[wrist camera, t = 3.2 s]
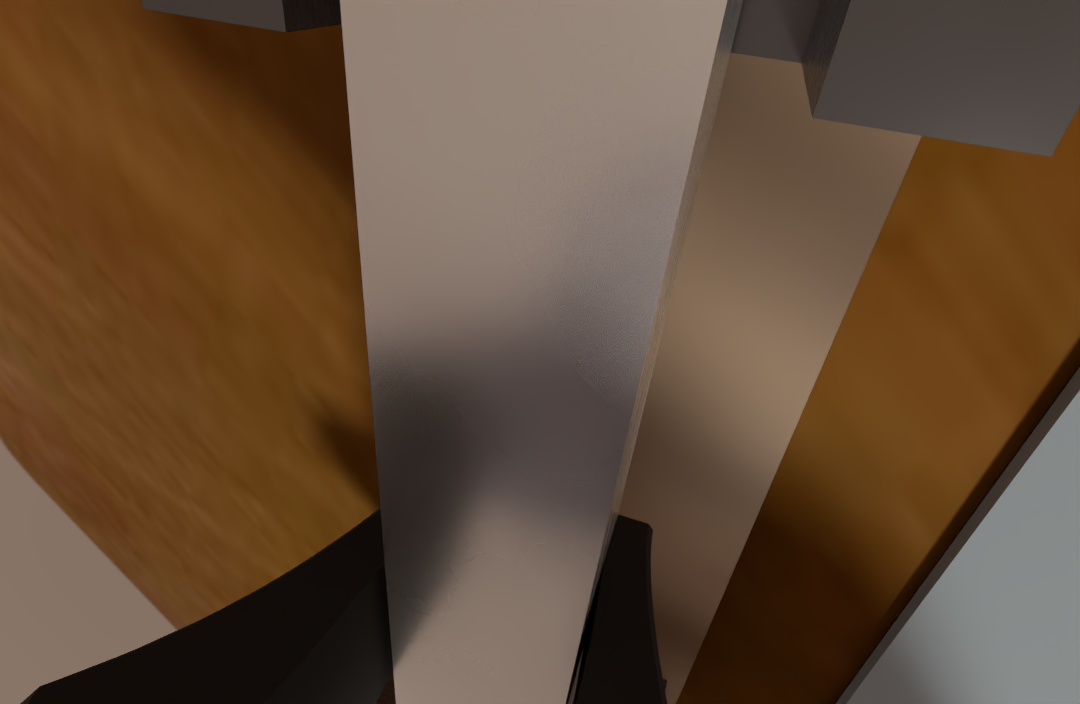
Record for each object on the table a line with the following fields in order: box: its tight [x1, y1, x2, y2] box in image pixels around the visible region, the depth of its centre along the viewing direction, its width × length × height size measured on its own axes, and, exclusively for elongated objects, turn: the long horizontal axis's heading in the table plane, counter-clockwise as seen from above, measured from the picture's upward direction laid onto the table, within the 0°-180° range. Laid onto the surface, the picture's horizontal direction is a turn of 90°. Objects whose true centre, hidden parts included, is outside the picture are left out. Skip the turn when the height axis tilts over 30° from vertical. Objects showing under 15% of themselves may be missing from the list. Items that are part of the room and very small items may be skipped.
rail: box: [340, 0, 743, 704], centre depth 11 cm, size 22×3×3 cm, turn 174°
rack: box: [141, 0, 1080, 704], centre depth 13 cm, size 22×9×7 cm, turn 174°
